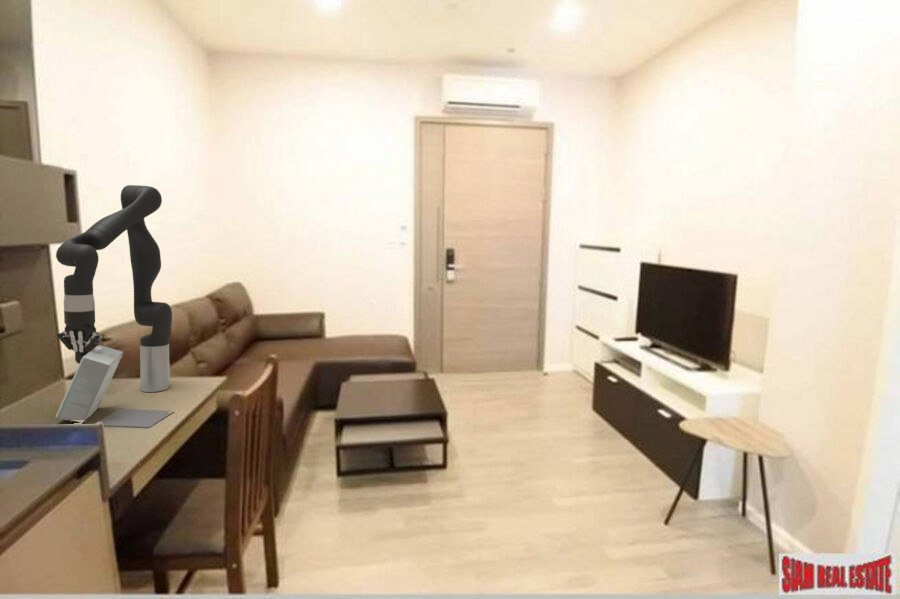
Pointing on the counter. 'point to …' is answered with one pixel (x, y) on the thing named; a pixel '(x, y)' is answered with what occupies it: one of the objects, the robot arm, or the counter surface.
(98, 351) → the hard drive box
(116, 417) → the rubber mat
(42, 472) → the counter surface
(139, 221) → the robot arm
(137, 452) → the counter surface
